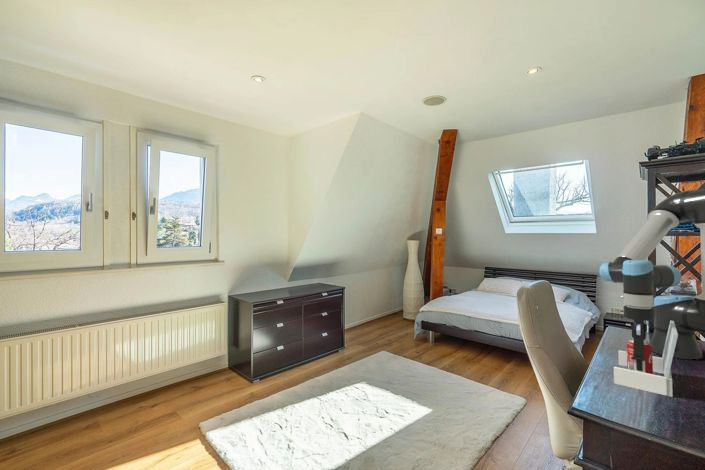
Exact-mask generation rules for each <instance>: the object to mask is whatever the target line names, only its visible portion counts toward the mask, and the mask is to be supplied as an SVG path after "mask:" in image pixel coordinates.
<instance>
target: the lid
mask: <svg viewBox="0 0 705 470" xmlns="http://www.w3.org/2000/svg"><path fill="white" fill-rule="evenodd" d="M677 337H678V334H677V330H676V327H675V324H674V321H671V320H670V325H669V329H668V333H667V338H666V342H665V347H664V351H663V355H662V357H661V358H662V359H663V368H664V374H663V377H668V376H669V372H670V370H671V366H672V362H673V358H674V357H673V354H674V350H675V346H676V341H677Z"/></svg>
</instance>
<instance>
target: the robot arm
mask: <svg viewBox="0 0 705 470" xmlns="http://www.w3.org/2000/svg"><path fill="white" fill-rule="evenodd" d="M686 221H693V222H694V223H693V224H694V226H695V227H697V228H698V229H700V230H699V231H700V232H699V234H700V266H701V267H700V269H701V271H700V273H701V274H700V275H701V277H700V278H701V293H700V294H699V295H696V297H694V296H692V295H671V294H670V295H657V296H655V297H654V289H656V288H657V289H659V288H665V289H667V288H672V287H675V286H678V285H679V284H680V283H681V281H682V273H681V272H680V270H679V269H678V268H677V267H675V266H673V265H668V264H659V265H658V264H653V262H652V261H651V260H647V259H648V257H650V255H651V254H652V253H653V252H654V250H655V249H656V248H657V247H658V246H659V245H660V243H661V241H662V240H663V239H665V237H666V235H667V234H668V232H669V231H671V229H674V228H676V227H678V225H679V224H680V223H682V222H686ZM598 272H599V276H600V278H601V279H602V280H603V281H606V282H610V283H613V284H617V283H618V284H622V287H623V288H622V289H623V290H622V291H623V294H622V295H621V296H620V298H621V299H623V304H624V306H623V317H624V318H625V319H630V320H633V322H630V329H631V337H632V338H633V339H634V356H633V357H631V359H634V371H638V372H643V373H645V358H644V341H645V340H646V339H647V331H648V329H647V327H648V326H647V324H646V323H645V322H644V321H646V322H650V321H653V328H654V329H653V333H652V335H651V337H650V341H649V345H650V346H651V347H652V353H656V354H658V355H663V351H664V347H665V342H666V338H667V333H668V329H669V325H670V320H671V321H674V324H675V327H676V330H677V334H678V337H677V341H676V346H675V350H674V354H673V358H675V359H681V360H682V359H683V360H692V359H696V360H702V359H703V351H702V349H700V345H699V343H698V340H697V338H696V332H697V333H701V334H705V188H701V189H694V190H693V189H692V190H685V191H684V190H683V191H679V192H677V193H674V194H672V195H670V196H668V197H666V198H665V199H664V200H662V201H660V202H659V203H658V204H657V205H655V206H654V208H652V209H651V211H650V212H648V215H647V220H646V222H645V223H644V224H643V225H642V226H641V228H640V229H639V230H638V231H637V232H636V234H635V235H634V236H633V237H632V239H631V240H630V241H629V242H628V243H627V245H625V247H624V248H623V249H622V251H621V252H620V254H618V256H617V257H616V258H615V259H614V260H613V262H612V261H609V262H603V263H602V264H601V265H600V266H599V270H598Z"/></svg>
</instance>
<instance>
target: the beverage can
mask: <svg viewBox="0 0 705 470" xmlns="http://www.w3.org/2000/svg"><path fill="white" fill-rule="evenodd" d="M649 342H650V341H649ZM649 342H648V341H645V340H644V358H645V373H648V374H653V373H654V372H653V358H652V356H653V351H652V347H651V346H650V345H649ZM626 352H627V366H626V369H628V370H633V371H634V359H631V357H633V356H634V338H633V339H629V340H628V342H627V343H626ZM653 375H654V374H653Z"/></svg>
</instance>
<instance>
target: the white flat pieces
mask: <svg viewBox="0 0 705 470" xmlns="http://www.w3.org/2000/svg"><path fill="white" fill-rule="evenodd" d="M617 352H618V353H617V355H618V359H617V360H618V365H619V366H623V367H627V350H626V351H625V350H620V349H619V350H618V351H617ZM652 358H653V373H659V374H663V375H657V374H648V373H643V372H638V371H633V370H628V369H627V368H623V367H618V366H613V384H615V385H619V386H624V387H628V388H632V389H637V390H642V391H645V392H650V393H653V394H656V395H657V394H659V395H663V396H666V397H672V398H673V378H672V371H671V369H670V372H669V376H668V377H665V376H664V368H663V359H662V357H659V356H654V355H652Z"/></svg>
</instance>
